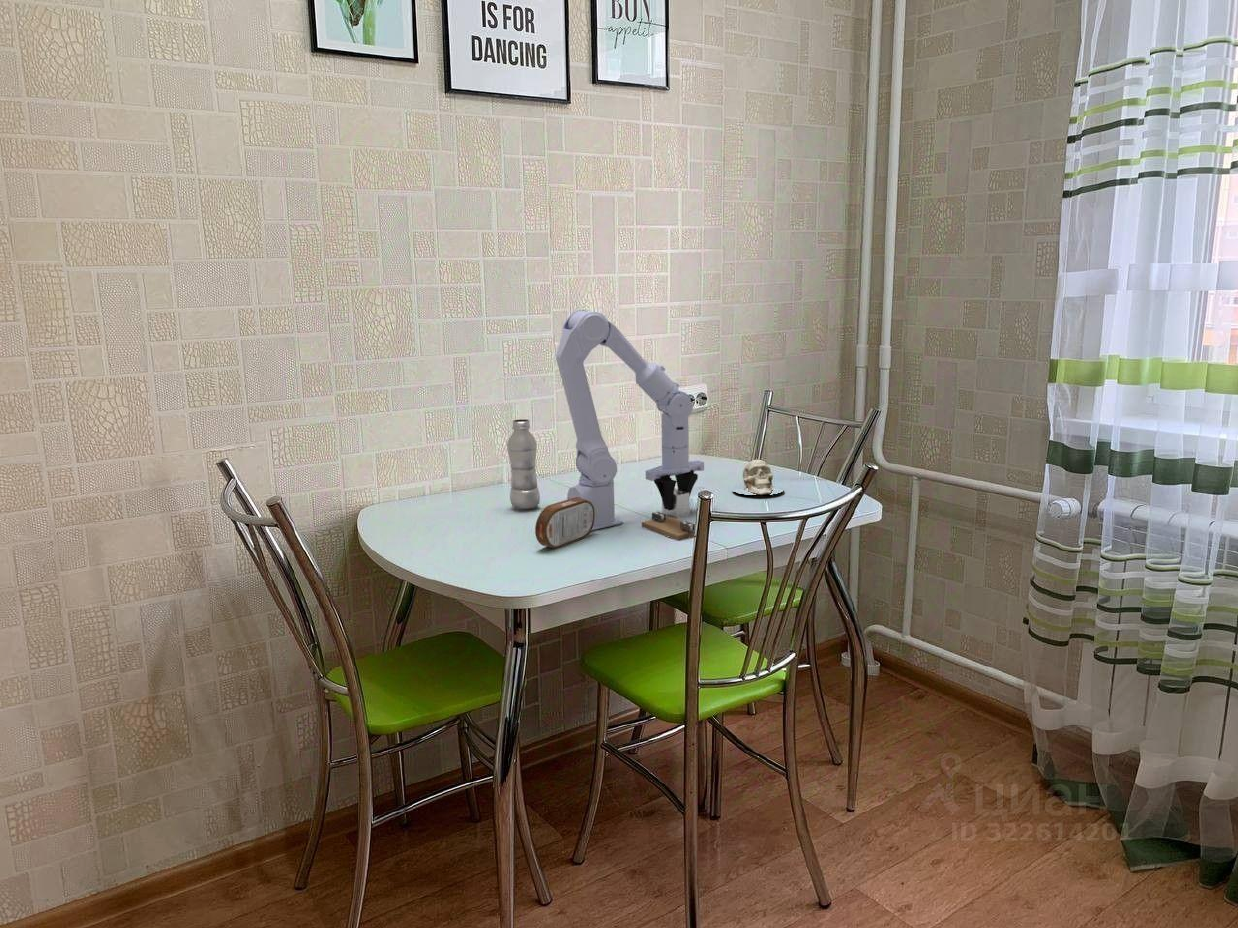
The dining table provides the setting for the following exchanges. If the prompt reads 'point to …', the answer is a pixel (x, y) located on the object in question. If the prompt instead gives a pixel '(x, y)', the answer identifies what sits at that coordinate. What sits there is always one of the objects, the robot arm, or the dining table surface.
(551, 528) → the tin
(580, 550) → the dining table surface
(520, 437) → the plastic bottle
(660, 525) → the board
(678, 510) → the grey toy brick
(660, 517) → the chain ends
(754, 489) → the skull
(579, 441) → the robot arm
